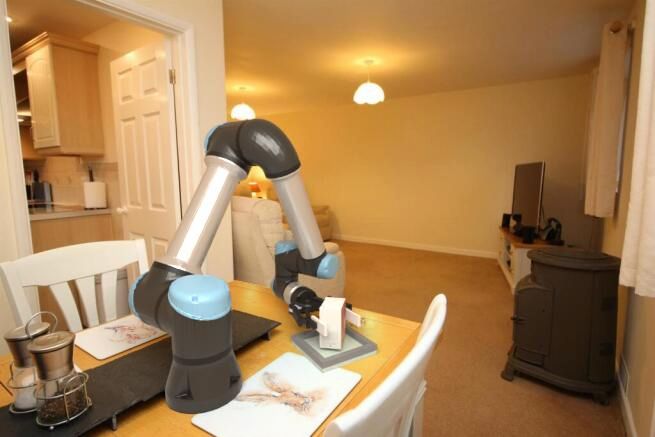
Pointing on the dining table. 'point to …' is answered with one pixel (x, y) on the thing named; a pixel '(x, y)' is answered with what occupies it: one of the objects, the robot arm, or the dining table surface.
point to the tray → (329, 358)
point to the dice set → (360, 322)
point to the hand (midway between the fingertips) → (343, 325)
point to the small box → (333, 322)
